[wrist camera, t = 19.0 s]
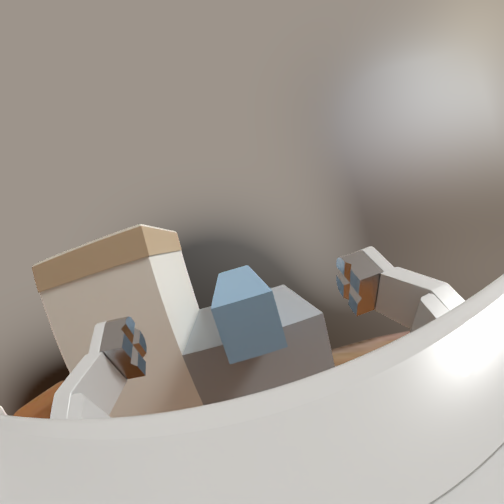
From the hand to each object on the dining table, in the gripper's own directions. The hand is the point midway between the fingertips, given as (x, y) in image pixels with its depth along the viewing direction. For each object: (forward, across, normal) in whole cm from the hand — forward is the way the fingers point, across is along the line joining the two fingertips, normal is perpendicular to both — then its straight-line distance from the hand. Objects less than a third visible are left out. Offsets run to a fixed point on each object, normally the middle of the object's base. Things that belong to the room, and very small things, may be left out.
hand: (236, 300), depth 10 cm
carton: (+6, +12, +28) cm, 30 cm away
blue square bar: (+12, 0, +13) cm, 18 cm away
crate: (+6, 0, +27) cm, 28 cm away
